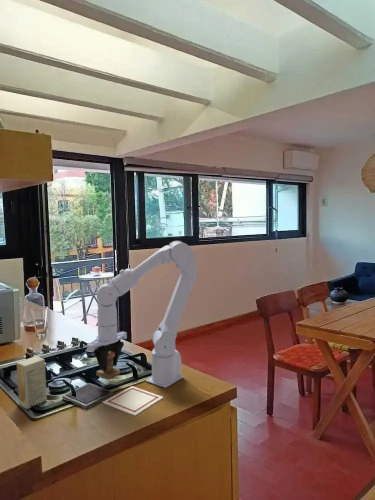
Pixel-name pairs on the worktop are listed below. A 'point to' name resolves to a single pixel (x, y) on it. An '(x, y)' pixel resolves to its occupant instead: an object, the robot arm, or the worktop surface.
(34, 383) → the skincare box
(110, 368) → the stamp
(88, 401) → the ink pad
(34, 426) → the worktop surface
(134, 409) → the marked sheet
